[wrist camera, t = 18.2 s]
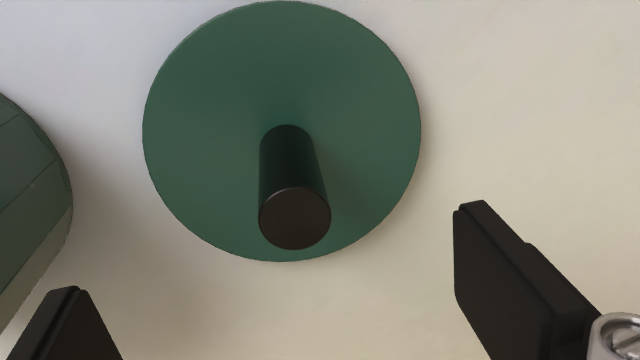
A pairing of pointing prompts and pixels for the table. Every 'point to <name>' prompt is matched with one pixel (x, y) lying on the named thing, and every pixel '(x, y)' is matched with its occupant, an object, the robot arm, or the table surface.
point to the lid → (281, 131)
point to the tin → (28, 207)
